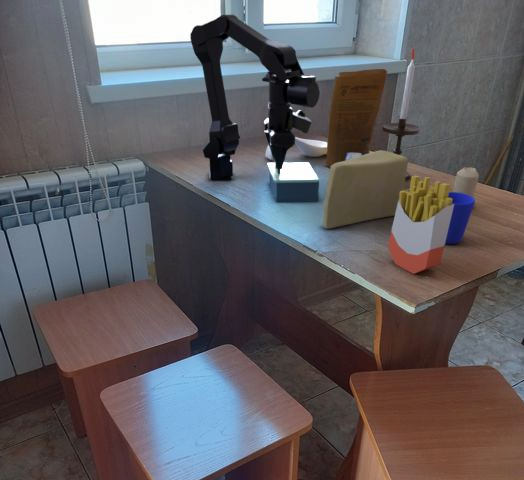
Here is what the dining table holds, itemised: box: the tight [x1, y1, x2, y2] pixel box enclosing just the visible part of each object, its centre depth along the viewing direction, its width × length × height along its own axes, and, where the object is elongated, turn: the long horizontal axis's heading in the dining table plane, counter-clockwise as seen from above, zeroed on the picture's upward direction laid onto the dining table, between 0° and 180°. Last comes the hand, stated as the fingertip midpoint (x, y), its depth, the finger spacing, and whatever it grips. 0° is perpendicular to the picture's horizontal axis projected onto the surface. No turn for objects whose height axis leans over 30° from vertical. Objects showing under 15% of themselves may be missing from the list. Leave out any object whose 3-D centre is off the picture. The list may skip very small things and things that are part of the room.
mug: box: [445, 191, 476, 245], centre depth 117 cm, size 8×12×10 cm
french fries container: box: [388, 175, 454, 275], centre depth 103 cm, size 5×11×18 cm, turn 31°
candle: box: [452, 166, 480, 198], centre depth 136 cm, size 6×6×10 cm
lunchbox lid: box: [266, 156, 320, 183], centre depth 142 cm, size 12×16×5 cm
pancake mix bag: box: [325, 68, 388, 168], centre depth 161 cm, size 7×19×28 cm, turn 109°
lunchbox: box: [268, 173, 320, 203], centre depth 145 cm, size 11×16×5 cm
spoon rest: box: [264, 136, 327, 161], centre depth 175 cm, size 24×12×7 cm, turn 114°
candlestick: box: [382, 46, 421, 181], centre depth 150 cm, size 11×11×35 cm
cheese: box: [322, 150, 409, 230], centre depth 125 cm, size 22×10×15 cm, turn 127°
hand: (277, 164), depth 141 cm, fingers open, 9 cm apart
